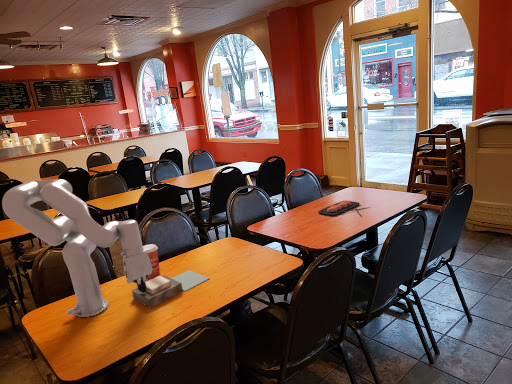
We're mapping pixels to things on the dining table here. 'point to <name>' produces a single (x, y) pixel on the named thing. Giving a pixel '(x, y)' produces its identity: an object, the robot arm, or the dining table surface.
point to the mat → (190, 279)
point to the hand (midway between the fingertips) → (142, 290)
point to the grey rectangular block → (158, 293)
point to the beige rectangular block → (157, 284)
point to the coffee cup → (153, 260)
